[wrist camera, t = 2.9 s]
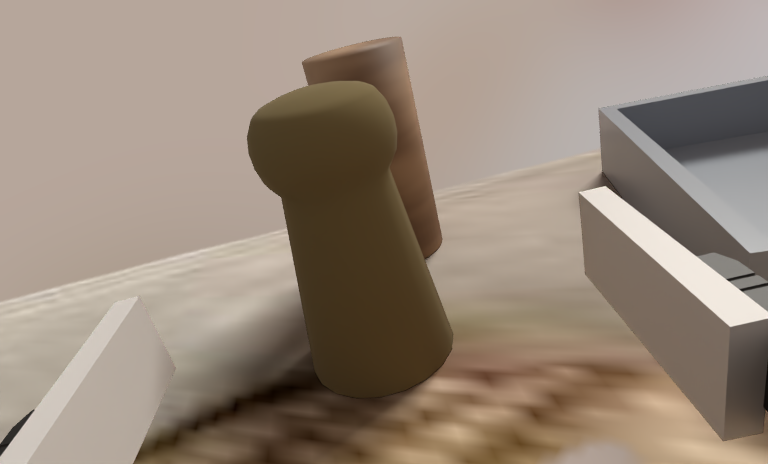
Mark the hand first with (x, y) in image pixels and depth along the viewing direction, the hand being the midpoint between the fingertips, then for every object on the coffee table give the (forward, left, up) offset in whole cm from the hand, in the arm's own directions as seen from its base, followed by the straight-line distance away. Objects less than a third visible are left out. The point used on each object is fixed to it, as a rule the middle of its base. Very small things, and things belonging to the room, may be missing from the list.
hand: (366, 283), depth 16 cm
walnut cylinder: (-1, +14, -6) cm, 15 cm away
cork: (-1, +5, -6) cm, 8 cm away
